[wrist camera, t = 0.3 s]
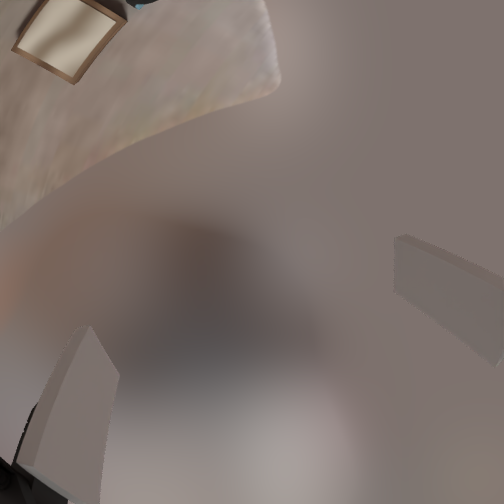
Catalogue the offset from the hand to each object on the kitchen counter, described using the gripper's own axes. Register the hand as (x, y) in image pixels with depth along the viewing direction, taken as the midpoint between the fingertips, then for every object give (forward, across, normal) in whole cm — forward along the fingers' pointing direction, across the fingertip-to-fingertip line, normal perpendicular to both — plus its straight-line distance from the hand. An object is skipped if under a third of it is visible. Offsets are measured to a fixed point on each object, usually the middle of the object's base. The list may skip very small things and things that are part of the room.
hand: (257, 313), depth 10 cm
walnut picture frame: (+21, -13, +29) cm, 38 cm away
